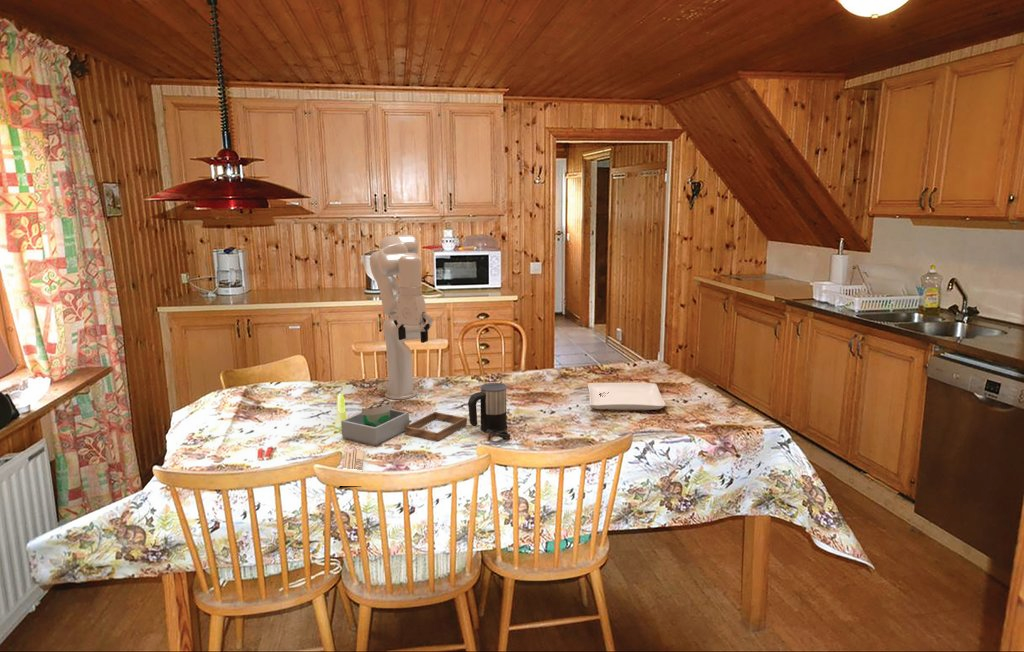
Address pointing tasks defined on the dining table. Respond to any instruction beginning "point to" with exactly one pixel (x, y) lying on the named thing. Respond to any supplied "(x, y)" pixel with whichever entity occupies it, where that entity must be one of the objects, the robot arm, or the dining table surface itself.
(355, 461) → the newspaper
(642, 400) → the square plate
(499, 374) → the dining table surface
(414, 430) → the walnut frame
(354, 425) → the grey bin
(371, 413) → the food container
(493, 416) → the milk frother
